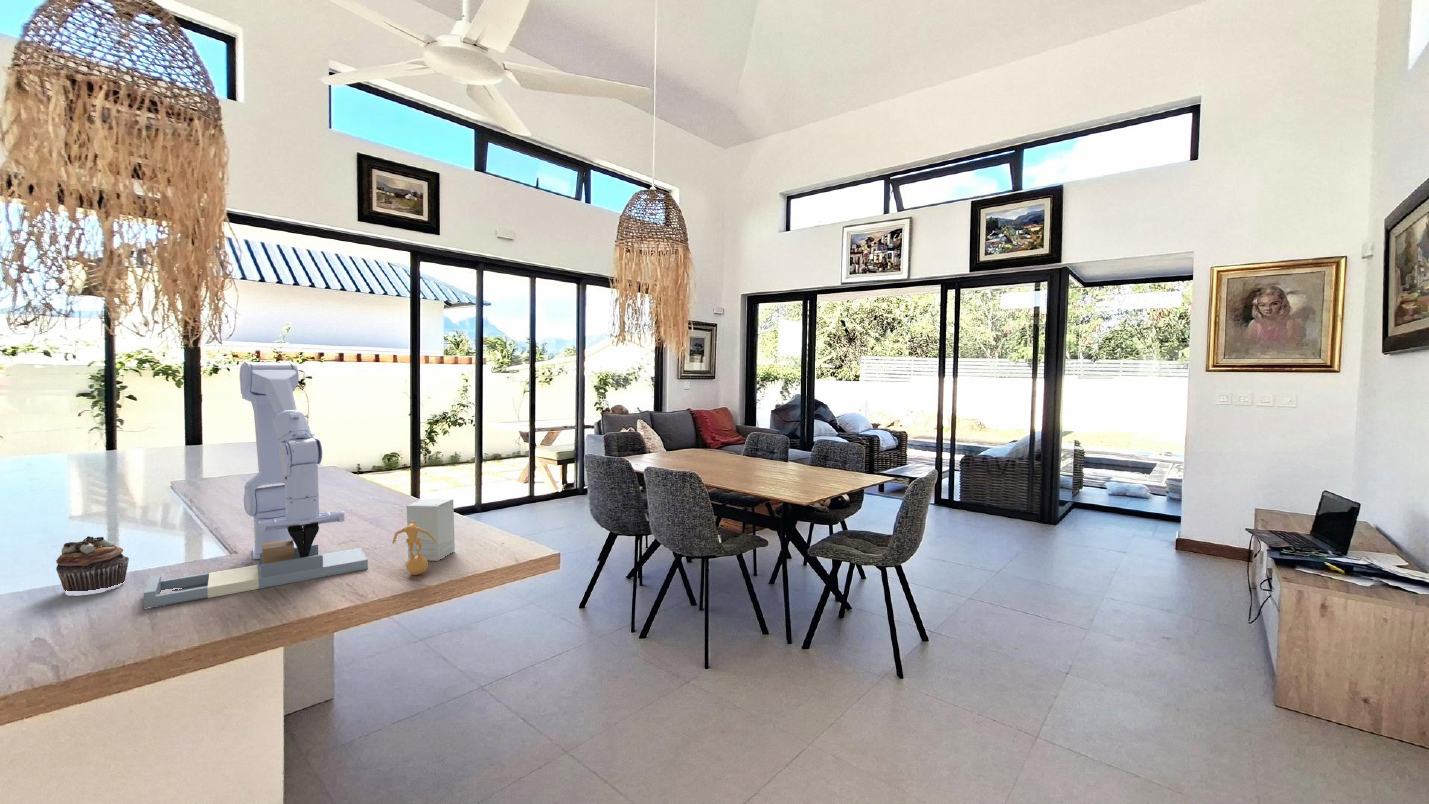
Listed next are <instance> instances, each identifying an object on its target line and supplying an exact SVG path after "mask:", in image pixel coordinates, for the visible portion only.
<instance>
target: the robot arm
mask: <svg viewBox="0 0 1429 804" xmlns="http://www.w3.org/2000/svg"><path fill="white" fill-rule="evenodd" d="M299 376H300V374H299V369H298V366H297V365H296V364H295V363H294V362H292V361H290V362H257V361H256V362H249V361H244V362H243V363H241V365H240V368H239V385H240V386H239V387H240V395H241V396H242V399H243V400H244V401H248V402H249V403H251V406H252V409H253V417H254V418H253V419H254V428H255V444H256V453H257V455H256V457H257V466H258V473H257V474H256V475H253V477H252V478H250V479H249V480H248V481H246V482H245V484H244V487H243V489H244V493H243V506H244V512H245V514H246V515H247V516H249V517H252V518H253V528H254V529H253V532H254V534H253V535H254V546H253V547H252V559H253V560H260V552H262V543H268V542H274V541H281V540H288V539H292V540H293V543H294V547H297V548H298V551H299V555H300V558H302V557H308V556H309V552H310V549H311V546H312V544H313V542H314V540H315V538H316V537H317V535H318V533H319V530H320V526H319V525H323V524H327V523H328V524H329V523H337V522H339V523H344V522H345V511H344V510H340V511H339V510H338V511H326V512H320V495H319V493H320V492H319V491H320V489H319V465H320V464H321V463H322V460H323V447H322V442H321V441H320V438H319V437H318V436H316V434H315V433H313V434H312V432H311V429H310V426H309V424H308V421H307V418H306V416H305V415H304V413H303V412H301V411H298V410H297V407H296V402H295V401H296V400H295V397H294V392H295V391H296V387H297V386H298V384H299V379H300V378H299ZM275 484H279V485H275ZM267 485H272V486H267ZM261 486H264V487H261Z"/></svg>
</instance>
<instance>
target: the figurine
mask: <svg viewBox="0 0 1429 804" xmlns="http://www.w3.org/2000/svg"><path fill="white" fill-rule="evenodd" d="M418 531H419V532H422V533H426V534H427V535H428V536H429V537H430V538H432V539H433V540H434V542H435V539H434V538H433V536H432V535H430V534H429V532H427V531H425V530H423V529H421V528H419V527H417V526H416V522H415V521H414V520H413V521H411V523H410V524H409V525H408V526H406V527H403V528H402V529H399V530H398V531H396V532H395V533H394V537H393V539H392V544H396V543H397V542H396V541H397V536H398V535H399V534H402V533H406V536H407V538H406V544H407V546H408V545H409V546H410V549H409V552H410V555H411V558H410V559H409V558H408V561H407V563H406V570H407V572H408V573H409V574H411V575H414V576H420V575H421V574H424V573H425V572H426V571H427V569H428V566H429V562H428V561H429V560H427V559H426V558H425V557H423V556H422V555H420V551H421V547H422V543H421V541H420V538H418V539H417V534H418ZM408 537H409V538H408ZM414 542H415V543H416V545H418V546H419V548H418V549H417V554H418V555H417V556H414V555H413V553H412V551H413V544H414ZM435 543H436V542H435Z"/></svg>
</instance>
